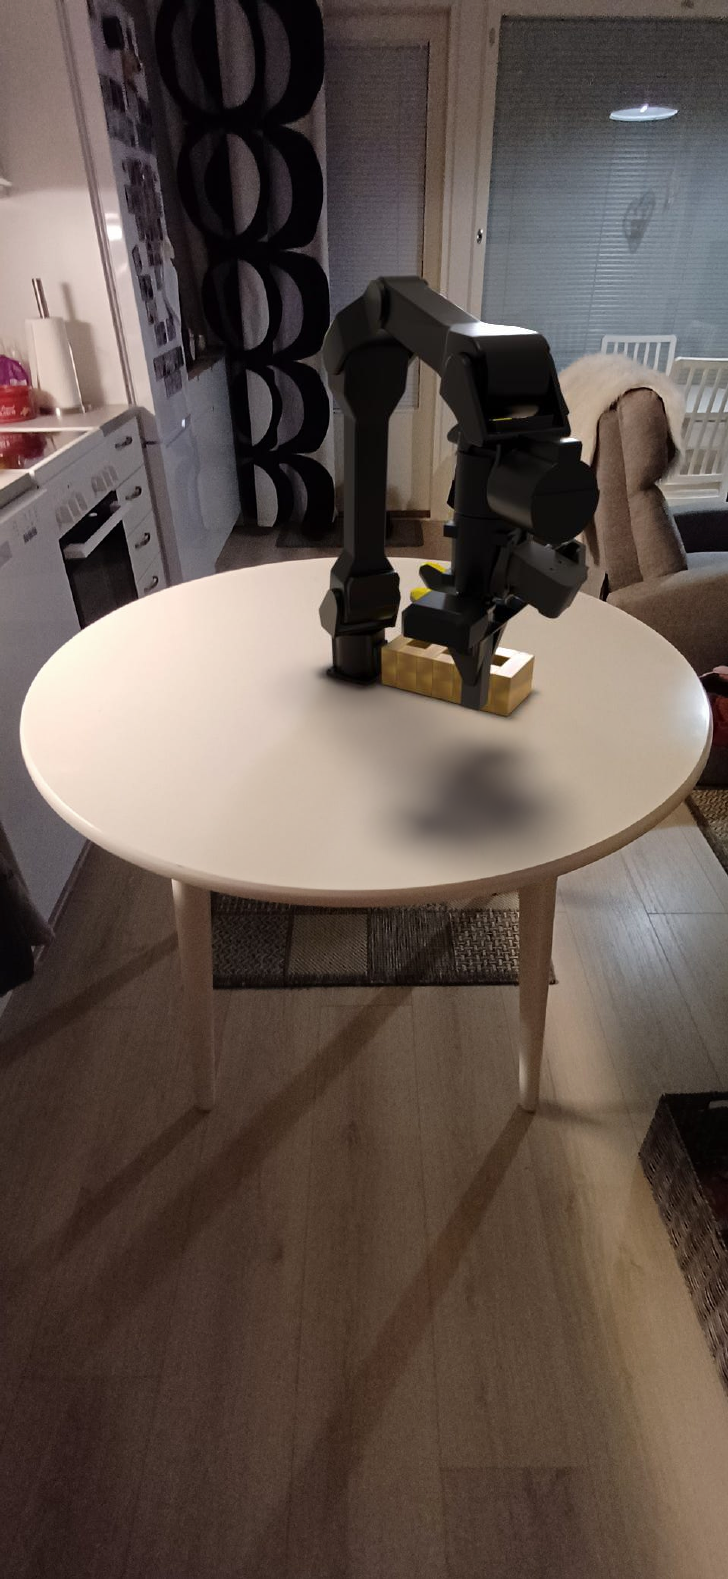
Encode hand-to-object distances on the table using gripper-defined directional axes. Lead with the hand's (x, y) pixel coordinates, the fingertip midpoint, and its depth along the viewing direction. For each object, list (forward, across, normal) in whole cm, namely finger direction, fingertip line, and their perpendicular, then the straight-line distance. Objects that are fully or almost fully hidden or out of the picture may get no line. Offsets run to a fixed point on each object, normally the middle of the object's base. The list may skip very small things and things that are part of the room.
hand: (475, 680), depth 72 cm
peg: (+2, 0, 0) cm, 2 cm away
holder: (+12, +19, +11) cm, 25 cm away
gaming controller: (+12, +42, +24) cm, 49 cm away
